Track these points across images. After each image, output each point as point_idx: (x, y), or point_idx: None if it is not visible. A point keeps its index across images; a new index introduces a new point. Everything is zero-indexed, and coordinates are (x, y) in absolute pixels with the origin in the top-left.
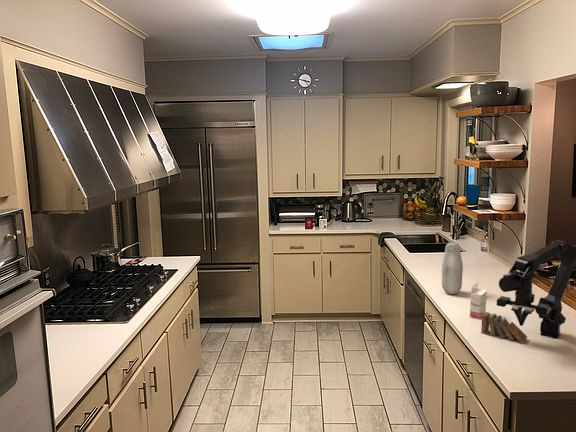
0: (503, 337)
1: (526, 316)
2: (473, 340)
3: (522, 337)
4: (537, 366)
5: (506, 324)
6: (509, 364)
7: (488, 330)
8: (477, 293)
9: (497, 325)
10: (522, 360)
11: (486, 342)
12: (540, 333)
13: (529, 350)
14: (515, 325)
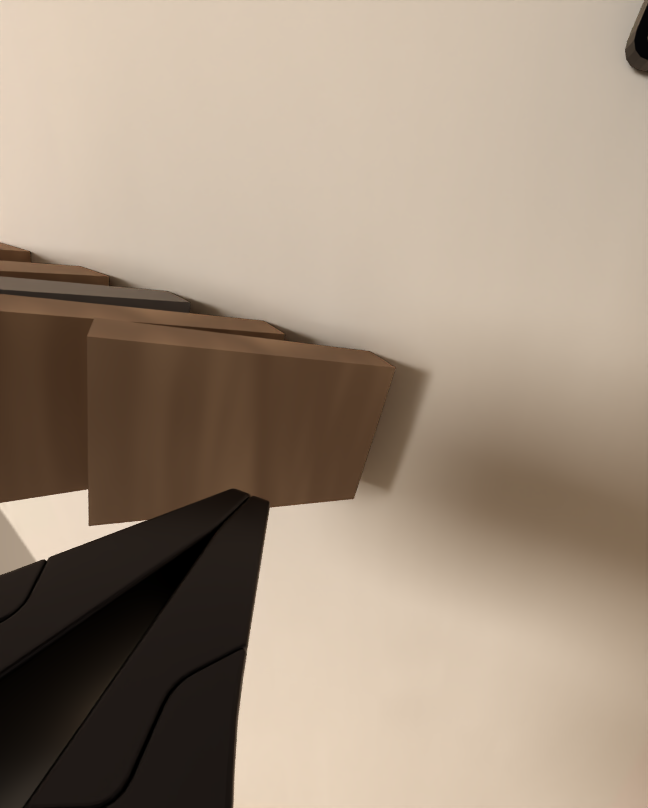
0: None
1: (216, 762)
2: (24, 514)
3: (329, 473)
4: (435, 803)
5: (64, 422)
6: (275, 778)
7: None
8: None
9: None
10: (344, 740)
11: (97, 526)
12: (636, 43)
13: (401, 600)
14: (181, 361)
